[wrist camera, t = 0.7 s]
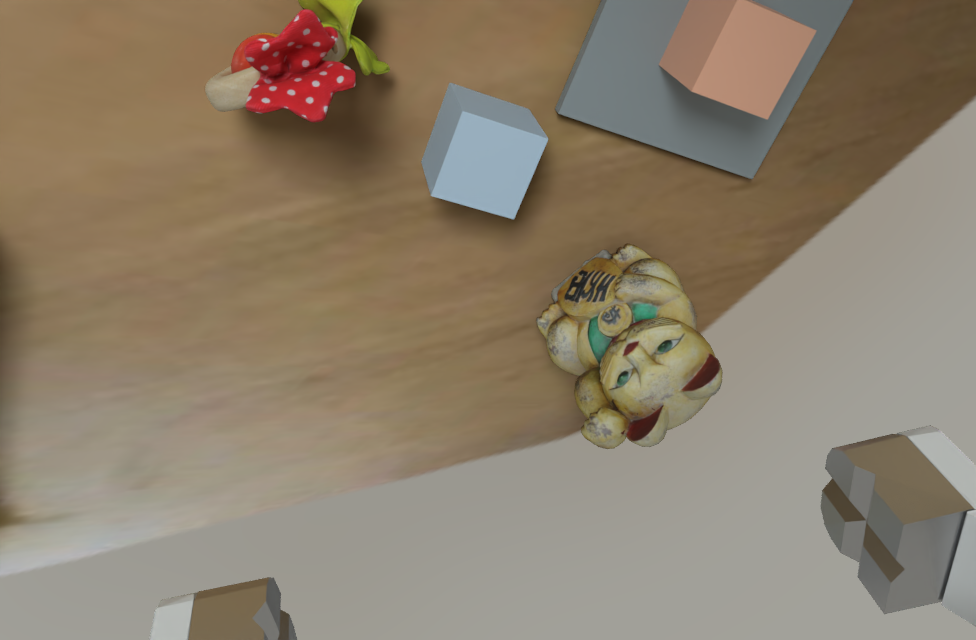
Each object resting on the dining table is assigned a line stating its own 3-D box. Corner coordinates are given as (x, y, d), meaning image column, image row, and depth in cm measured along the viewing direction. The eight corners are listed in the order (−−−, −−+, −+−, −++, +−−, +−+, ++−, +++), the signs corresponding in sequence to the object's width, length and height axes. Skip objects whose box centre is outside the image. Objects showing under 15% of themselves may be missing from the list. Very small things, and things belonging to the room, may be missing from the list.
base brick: (699, -23, 45) (738, -3, 41) (772, 9, 47) (816, 30, 43) (658, 64, 48) (691, 91, 44) (729, 91, 49) (767, 119, 45)
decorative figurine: (617, 210, 53) (710, 339, 41) (692, 278, 57) (798, 415, 45) (514, 311, 56) (572, 461, 44) (593, 369, 60) (666, 521, 48)
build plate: (662, -145, 42) (668, -143, 42) (869, -45, 47) (877, -43, 47) (555, 109, 49) (558, 113, 48) (746, 174, 54) (752, 179, 53)
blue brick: (449, 82, 47) (462, 110, 43) (528, 108, 49) (548, 138, 45) (421, 161, 49) (431, 196, 45) (497, 184, 51) (513, 219, 47)
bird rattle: (296, 101, 48) (428, 47, 44) (213, 210, 40) (365, 157, 36) (231, 1, 45) (368, -67, 41) (126, 99, 37) (284, 27, 33)
